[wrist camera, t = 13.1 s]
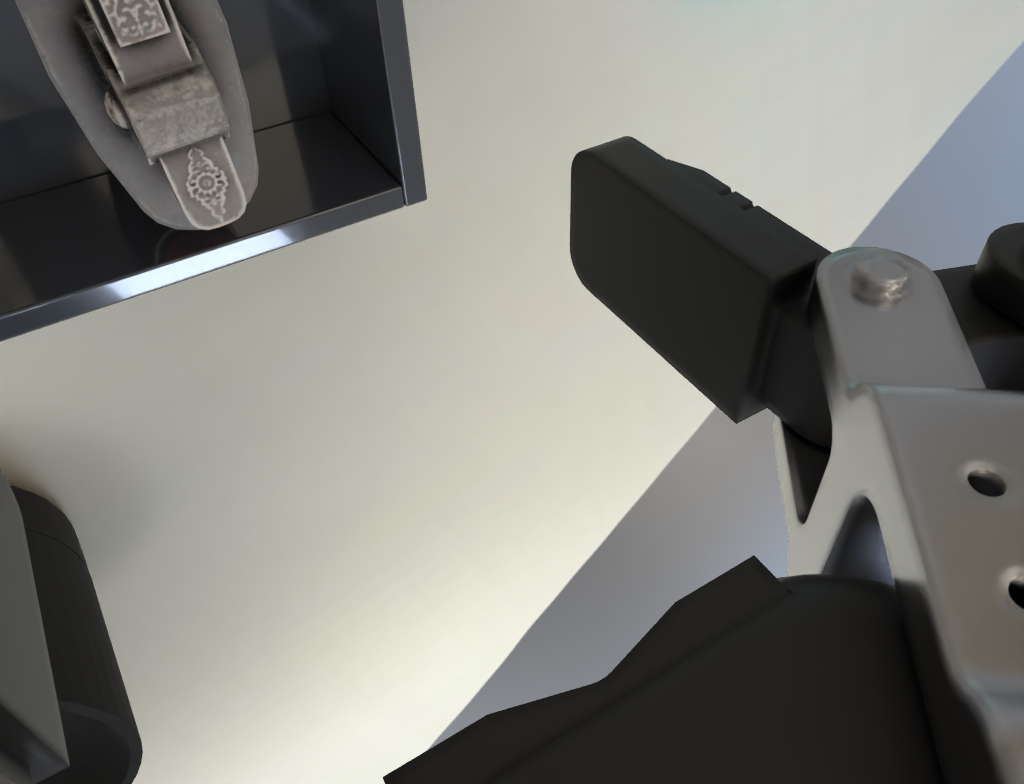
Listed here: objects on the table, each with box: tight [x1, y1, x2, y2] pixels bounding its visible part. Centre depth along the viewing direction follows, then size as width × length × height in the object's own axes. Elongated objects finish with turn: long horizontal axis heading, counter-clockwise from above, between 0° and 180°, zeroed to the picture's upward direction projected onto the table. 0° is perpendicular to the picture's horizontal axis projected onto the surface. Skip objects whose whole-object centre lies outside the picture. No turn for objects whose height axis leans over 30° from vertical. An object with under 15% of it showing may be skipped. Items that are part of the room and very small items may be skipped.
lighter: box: [15, 0, 259, 230], centre depth 17 cm, size 8×3×10 cm, turn 6°
